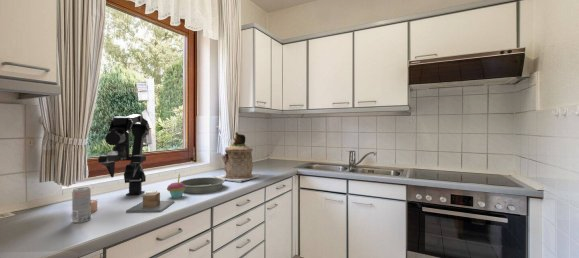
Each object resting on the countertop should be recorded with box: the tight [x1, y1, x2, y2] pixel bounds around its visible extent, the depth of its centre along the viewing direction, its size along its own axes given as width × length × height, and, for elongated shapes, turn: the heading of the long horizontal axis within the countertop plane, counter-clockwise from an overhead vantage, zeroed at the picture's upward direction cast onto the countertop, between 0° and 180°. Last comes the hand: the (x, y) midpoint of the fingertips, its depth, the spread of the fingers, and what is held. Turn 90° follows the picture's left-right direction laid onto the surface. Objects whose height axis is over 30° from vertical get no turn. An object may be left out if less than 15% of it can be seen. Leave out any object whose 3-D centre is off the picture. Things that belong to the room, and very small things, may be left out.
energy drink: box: [71, 186, 92, 224], centre depth 97 cm, size 5×5×12 cm
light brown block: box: [91, 199, 98, 214], centre depth 108 cm, size 7×7×4 cm
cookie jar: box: [213, 131, 263, 184], centre depth 179 cm, size 25×25×32 cm
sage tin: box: [145, 189, 158, 194], centre depth 126 cm, size 4×4×4 cm
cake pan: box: [180, 176, 225, 194], centre depth 148 cm, size 25×25×4 cm
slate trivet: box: [125, 200, 175, 213], centre depth 114 cm, size 14×14×1 cm
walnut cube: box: [142, 191, 161, 207], centre depth 114 cm, size 5×5×5 cm
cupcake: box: [166, 173, 186, 199], centre depth 131 cm, size 9×8×12 cm
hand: (122, 177), depth 121 cm, fingers open, 9 cm apart
